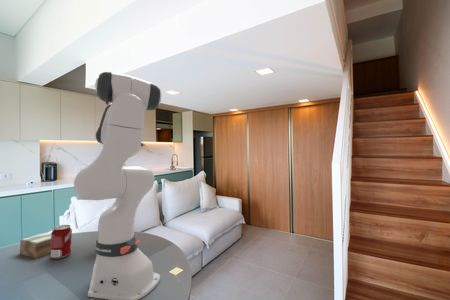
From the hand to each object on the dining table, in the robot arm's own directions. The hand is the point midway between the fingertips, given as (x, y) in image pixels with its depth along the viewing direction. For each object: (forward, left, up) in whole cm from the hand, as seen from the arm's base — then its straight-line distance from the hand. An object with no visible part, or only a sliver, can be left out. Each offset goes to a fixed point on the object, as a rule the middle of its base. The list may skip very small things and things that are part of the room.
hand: (92, 184), depth 100 cm
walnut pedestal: (+13, +12, -28) cm, 34 cm away
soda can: (+1, +12, -29) cm, 31 cm away
